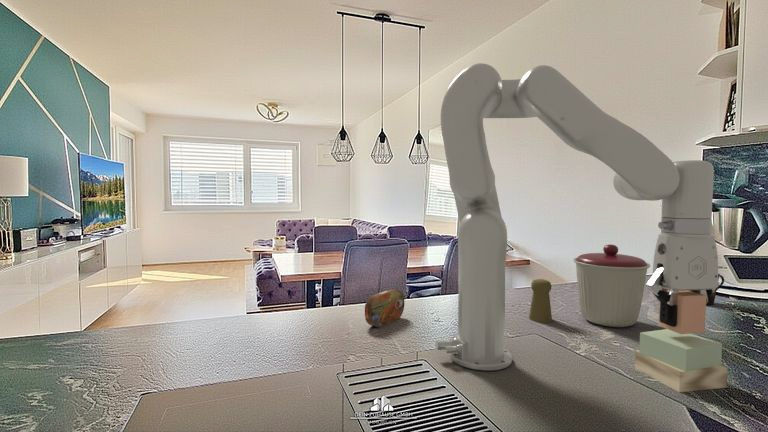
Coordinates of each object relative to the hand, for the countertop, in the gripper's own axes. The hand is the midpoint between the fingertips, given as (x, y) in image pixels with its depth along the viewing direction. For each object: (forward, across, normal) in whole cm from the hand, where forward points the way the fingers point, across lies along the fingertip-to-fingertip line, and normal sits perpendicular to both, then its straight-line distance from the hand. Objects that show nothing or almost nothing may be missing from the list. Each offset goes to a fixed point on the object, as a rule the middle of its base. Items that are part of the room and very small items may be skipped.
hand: (681, 322), depth 77 cm
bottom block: (+11, 0, 0) cm, 11 cm away
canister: (+11, +10, +32) cm, 35 cm away
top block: (+7, 0, 0) cm, 7 cm away
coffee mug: (+11, +54, +44) cm, 70 cm away
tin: (+11, -50, +41) cm, 66 cm away
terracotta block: (+1, 0, 0) cm, 1 cm away
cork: (+11, -7, +37) cm, 39 cm away
